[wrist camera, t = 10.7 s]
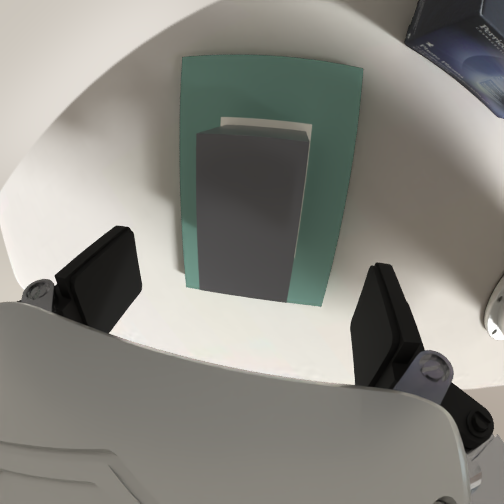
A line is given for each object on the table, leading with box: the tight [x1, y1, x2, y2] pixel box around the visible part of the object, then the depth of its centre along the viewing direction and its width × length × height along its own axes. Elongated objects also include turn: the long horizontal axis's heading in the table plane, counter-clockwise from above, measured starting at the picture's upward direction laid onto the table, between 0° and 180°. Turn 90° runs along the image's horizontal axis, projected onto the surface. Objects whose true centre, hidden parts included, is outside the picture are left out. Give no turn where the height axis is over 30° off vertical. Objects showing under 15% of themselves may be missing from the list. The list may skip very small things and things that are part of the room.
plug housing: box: [196, 125, 310, 303], centre depth 17 cm, size 5×9×6 cm, turn 177°
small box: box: [405, 0, 504, 119], centre depth 8 cm, size 11×6×10 cm, turn 71°
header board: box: [180, 55, 363, 307], centre depth 20 cm, size 12×19×2 cm, turn 177°
